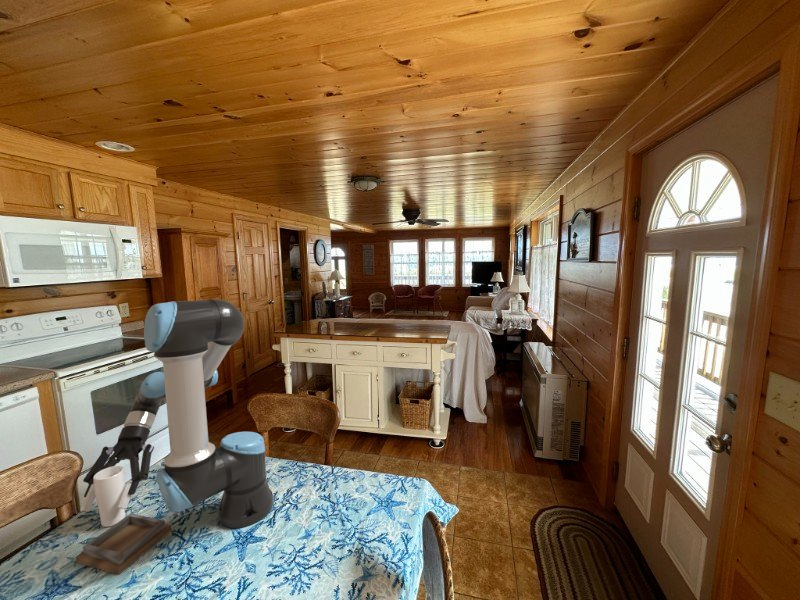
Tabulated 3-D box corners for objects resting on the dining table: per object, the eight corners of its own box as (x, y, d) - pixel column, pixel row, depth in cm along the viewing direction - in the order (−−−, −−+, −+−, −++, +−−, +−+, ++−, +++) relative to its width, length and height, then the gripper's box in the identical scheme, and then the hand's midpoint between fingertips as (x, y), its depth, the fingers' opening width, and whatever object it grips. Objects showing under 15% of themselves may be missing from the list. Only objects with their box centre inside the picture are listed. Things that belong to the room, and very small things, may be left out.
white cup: (110, 531, 93) (105, 481, 92) (91, 528, 95) (86, 478, 93) (134, 514, 100) (130, 466, 98) (116, 510, 101) (111, 464, 100)
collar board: (171, 530, 94) (170, 518, 93) (119, 574, 80) (117, 561, 80) (133, 521, 97) (132, 510, 97) (76, 562, 83) (74, 549, 83)
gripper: (177, 430, 112) (151, 508, 98) (107, 434, 110) (70, 514, 96) (167, 422, 106) (137, 504, 92) (93, 426, 104) (51, 510, 90)
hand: (103, 509), depth 94 cm, fingers open, 9 cm apart
